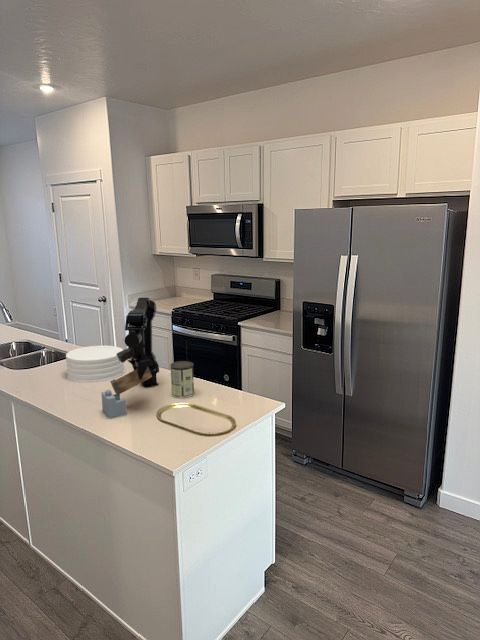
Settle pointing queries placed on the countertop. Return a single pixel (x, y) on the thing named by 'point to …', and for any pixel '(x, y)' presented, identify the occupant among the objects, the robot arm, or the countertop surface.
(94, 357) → the plate stack
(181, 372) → the coffee can
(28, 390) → the countertop surface
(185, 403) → the serving platter
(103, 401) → the stepped blue block
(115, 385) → the brown wooden bar
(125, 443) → the countertop surface
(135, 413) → the countertop surface
